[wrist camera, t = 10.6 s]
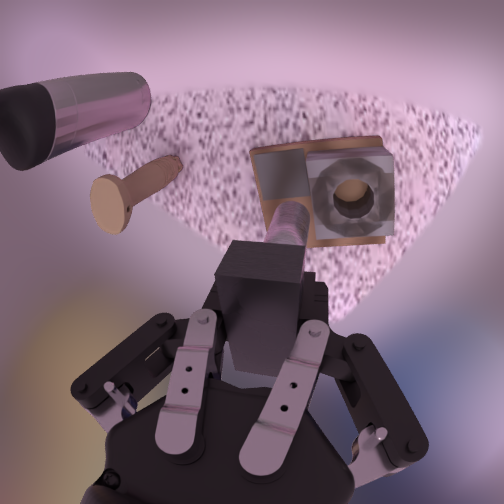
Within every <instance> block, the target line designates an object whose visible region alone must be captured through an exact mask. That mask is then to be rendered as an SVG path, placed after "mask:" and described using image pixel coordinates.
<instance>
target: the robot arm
mask: <svg viewBox="0 0 504 504" xmlns="http://www.w3.org/2000/svg"><path fill="white" fill-rule="evenodd" d="M150 103H151V94H150V89H149V86H148V84H147V82H146V80H145V79H144V78H143V77H142V76H141V75H139V74H137V73H134V72H117V73H99V74H88V75H78V76H70V77H63V78H57V79H52V80H46V81H41V82H36V83H32V84H27V85H18V86H13V87H9V88H4V89H1V90H0V152H1V154H2V155H3V157H4V158H5V159H6V161H7V162H8V163H9V165H10V166H12V167H13V168H15V169H16V170H20V171H24V170H28V169H31V168H33V167H35V166H37V165H39V164H41V163H43V162H45V161H47V160H49V159H51V158H54V157H56V156H58V155H61V154H63V153H65V152H67V151H70V150H72V149H74V148H77V147H79V146H82V145H85V144H87V143H90V142H93V141H95V140H98V139H101V138H104V137H107V136H109V135H112V134H116V133H119V132H122V131H125V130H128V129H131V128H134V127H136V126H137V125H139V124H140V123H141V122H142V121H143V120H144V118H145V117H146V115H147V113H148V111H149V108H150ZM225 341H228V337H227V333H226V328H225V324H224V319H223V314H222V310H221V305H220V300H219V295H218V290H217V285H216V280H215V282H214V284H213V287H212V288H211V290H210V293H209V294H208V296H207V299H206V301H205V303H204V305H203V307H202V309H200V310H197V311H195V312H194V313H193V314H192V315H191V316H190V318H188V319H179V320H175V319H174V317H173V316H172V315H171V314H169V313H159V314H157V315H155V316H154V317H152V318H151V319H150V320H149V321H147V322H146V323H145V324H144V325H142V326H141V327H140V328H139V329H137V330H136V331H135V332H134V333H132V334H131V335H130V336H129V337H127V338H126V339H125V340H124V341H122V342H121V343H120V344H119V345H117V346H116V347H115V348H114V349H112V350H111V351H110V352H109V353H108V354H106V355H105V356H104V357H102V358H101V359H100V360H99V361H98V362H97V363H95V364H94V365H93V366H91V367H90V368H89V369H88V370H86V371H85V372H84V373H83V374H82V375H80V376H79V377H78V378H77V379H76V380H75V381H74V382H73V383H72V385H71V394H72V396H73V397H74V398H75V399H76V400H77V401H78V402H79V403H80V404H81V406H82V407H83V408H84V409H86V410H87V411H88V412H89V413H90V414H91V415H92V416H93V417H94V418H95V419H96V420H97V422H98V423H99V424H100V425H101V427H102V428H103V429H104V430H105V431H106V432H107V437H106V442H105V451H106V462H105V469H104V471H103V473H102V475H101V476H100V477H99V479H98V480H97V481H96V482H94V483H93V484H92V485H91V486H90V487H89V488H88V489H87V490H86V492H85V494H84V496H83V498H82V500H81V503H80V504H348V502H349V501H350V500H351V498H352V496H353V493H354V489H355V488H357V487H359V486H362V485H364V484H366V483H369V482H371V481H373V480H375V479H378V478H380V477H382V476H383V477H388V476H391V475H393V474H395V473H397V472H399V471H401V470H403V469H405V468H407V467H408V466H410V465H412V464H413V463H415V462H417V461H419V460H420V459H421V458H423V457H424V456H425V454H426V453H427V451H428V447H429V442H428V439H427V437H426V435H425V433H424V431H423V429H422V427H421V425H420V424H419V421H418V420H417V418H416V416H415V415H414V412H413V411H412V409H411V407H410V405H409V403H408V401H407V400H406V398H405V396H404V394H403V393H402V391H401V389H400V387H399V386H398V384H397V382H396V380H395V379H394V377H393V375H392V374H391V372H390V370H389V368H388V367H387V365H386V363H385V362H384V360H383V358H382V357H381V355H380V353H379V352H378V350H377V349H376V347H375V345H374V344H373V342H372V341H371V339H370V338H369V337H367V336H366V335H364V334H358V333H356V334H352V335H350V336H348V337H347V338H346V337H343V336H340V335H338V334H336V333H334V332H333V331H332V330H331V329H330V327H329V324H328V287H327V286H326V284H325V282H315V272H304V284H303V293H302V300H301V306H300V312H299V318H298V330H297V338H296V341H295V343H294V346H293V348H292V351H291V353H290V356H289V358H286V359H285V361H284V363H283V366H282V368H281V370H280V373H279V375H278V377H277V380H276V382H275V384H274V386H273V388H268V387H259V388H246V389H241V388H238V387H235V386H233V385H231V384H228V383H226V382H224V381H221V375H222V366H223V356H224V348H223V347H224V344H225ZM158 347H160V348H159V349H158V350H157V351H156V352H155V353H153V352H154V351H155V350H156V349H157V348H158ZM151 353H153V354H152V355H151V356H150V357H149V358H148V359H147V360H146V361H145V359H146V358H147V357H148V356H149V355H150V354H151ZM171 371H172V374H171V378H170V382H169V387H168V392H167V395H165V396H164V397H162V398H160V399H159V400H157V401H155V402H154V403H152V404H150V405H148V406H147V407H145V408H143V409H142V410H140V411H138V412H137V411H136V409H137V406H138V402H139V401H140V400H141V399H142V398H143V397H144V396H145V395H146V394H147V393H149V392H150V391H151V390H152V389H153V388H154V387H155V386H156V385H157V384H158V383H159V382H161V381H162V380H163V379H164V378H165V377H166V376H167V375H168V374H169V373H170V372H171ZM320 373H323V374H326V375H328V376H331V377H334V378H335V381H336V383H337V386H338V388H339V390H340V392H341V394H342V397H343V399H344V401H345V403H346V406H347V408H348V410H349V412H350V414H351V417H352V419H353V421H354V424H355V426H356V428H357V431H358V433H359V435H358V436H357V438H356V439H355V440H354V441H353V444H352V453H353V458H352V462H351V464H350V465H348V466H347V465H346V464H345V462H344V461H343V459H342V458H341V456H340V455H339V454H338V452H337V451H336V450H335V448H334V447H333V445H332V444H331V443H330V441H329V440H328V439H327V437H326V436H325V435H324V433H323V432H322V430H321V429H320V427H319V426H318V424H317V423H316V422H315V420H314V419H313V417H312V416H311V414H310V413H309V411H308V408H309V405H310V402H311V399H312V396H313V392H314V390H315V386H316V383H317V380H318V377H319V374H320Z"/></svg>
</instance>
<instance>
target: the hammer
mask: <svg viewBox="0 0 504 504" xmlns="http://www.w3.org/2000/svg"><path fill="white" fill-rule="evenodd" d="M309 225H310V214H309V211H308V210H307V208H306V207H305V206H304V205H302V204H301V203H299V202H295V201H287V202H284V203H282V204H280V205H279V206H278V207H277V208H276V210H275V213H274V216H273V218H272V221H271V223H270V226H269V229H268V231H267V234H266V237H265V239H264V242H252V241H238V240H233V241H232V243H231V244H230V246H229V248H228V250H227V252H226V254H225V255H224V257H223V259H222V261H221V263H220V265H219V267H218V268H217V270H216V272H215V274H214V275H215V280H216V285H217V290H218V295H219V300H220V305H221V310H222V314H223V319H224V324H225V328H226V333H227V337H228V342H229V346H230V350H231V354H232V359H233V363H234V367H235V370H238V371H243V372H249V373H254V374H261V375H267V376H274V377H278V375H279V373H280V370H281V368H282V366H283V363H284V361H285V359H286V358H289V356H290V353H291V351H292V348H293V346H294V343H295V341H296V338H297V330H298V318H299V312H300V306H301V300H302V293H303V284H304V268H305V255H306V248H307V241H308V233H309Z"/></svg>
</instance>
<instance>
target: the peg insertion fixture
mask: <svg viewBox="0 0 504 504" xmlns="http://www.w3.org/2000/svg"><path fill="white" fill-rule="evenodd" d="M249 153H250V157H251V162H252V166H253V171H254V175H255V180H256V184H257V189H258V193H259V198H260V203H261V207H262V212H263V217H264V221H265V226H266V231H268V229H269V226H270V223H271V221H272V218H273V216H274V213H275V210H276V208H277V207H278V206H279V205H280V204H282V203H284V202H287V201H295V202H299V203H301V204H302V205H304V206H305V207H306V208H307V210H308V211H309V214H310V225H309V233H308V241H307V248H314V247H331V246H349V245H367V244H384V243H385V236H388V235H394V216H395V188H394V161H393V155H392V154H391V153H390V152H389V151H388V150H386V149H385V148H384V147H383V141H382V138H381V137H380V136H360V137H344V138H332V139H321V140H311V141H302V142H294V143H286V144H278V145H272V146H265V147H259V148H253V149H252V150H250V151H249Z"/></svg>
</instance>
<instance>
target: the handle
mask: <svg viewBox="0 0 504 504" xmlns="http://www.w3.org/2000/svg"><path fill="white" fill-rule="evenodd" d="M182 168H183V166H182V164H181V163H180V160H179V157H177V156H175V157H173V156H172V155H168V156H165V157H162V158H158V159H156V160H153V161H151V162H149V163H147V164H145V165H143V166H142V167H140V168H139V169H137V170H136V171H134V172H133V173H131V174H130V175H128V176H127V177H125V178H124V179H122V180H121V179H120V178H119V177H117V176H115V175H111V174H107V175H103V176H101V177H99V178H97V179H95V180H94V181H93V185H92V188H91V193H90V200H91V208H92V212H93V215H94V218H95V220H96V222H97V224H98V226H99V227H100V228H101V229H102V230H104V231H105V232H107V233H110V234H119V233H121V232H122V231H123V230H124V229H125V228H126V226H127V224H128V222H129V219H130V217H131V214H132V208H133V206H135V205H136V204H138V203H139V202H141V201H143V200H144V199H146V198H148V197H149V196H151V195H153V194H154V193H156V192H158V191H160V190H161V189H162V188H164V187H165V186H167V185H168V184H169V183H170V182H171V181H172V180H173V179H174V178H175V177H176V176H177V175H178V172H180V171H181V170H182Z"/></svg>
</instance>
